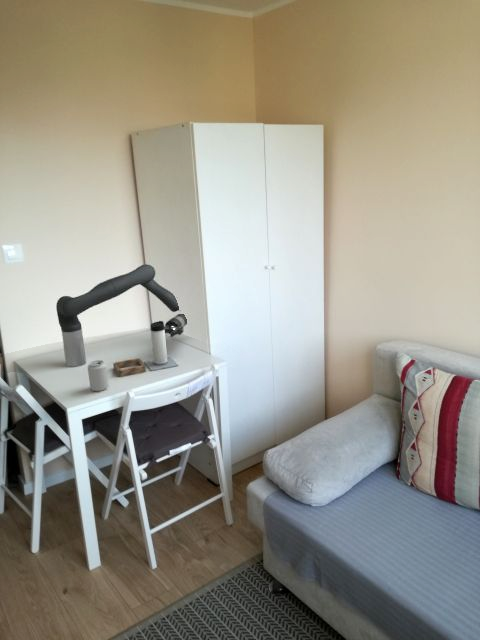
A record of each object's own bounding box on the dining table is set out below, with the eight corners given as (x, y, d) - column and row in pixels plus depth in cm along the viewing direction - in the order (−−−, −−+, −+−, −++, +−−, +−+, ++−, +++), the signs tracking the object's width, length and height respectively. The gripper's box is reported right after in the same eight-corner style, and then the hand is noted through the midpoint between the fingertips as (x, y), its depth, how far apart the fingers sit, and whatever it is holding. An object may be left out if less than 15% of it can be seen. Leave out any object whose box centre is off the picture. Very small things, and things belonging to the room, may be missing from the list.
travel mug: (170, 361, 243) (167, 321, 237) (161, 366, 237) (157, 325, 232) (160, 360, 246) (156, 320, 241) (151, 364, 241) (147, 323, 235)
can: (110, 390, 214) (106, 363, 211) (91, 393, 212) (87, 366, 209) (107, 384, 221) (104, 358, 218) (89, 387, 219) (86, 360, 215)
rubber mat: (151, 371, 233) (151, 370, 233) (144, 362, 245) (144, 361, 245) (178, 366, 238) (178, 365, 238) (170, 357, 250) (170, 356, 250)
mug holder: (118, 377, 228) (118, 371, 227) (113, 368, 239) (112, 362, 238) (146, 372, 233) (145, 365, 232) (139, 363, 244) (139, 357, 243)
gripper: (161, 317, 258) (148, 327, 243) (187, 318, 255) (176, 327, 239) (162, 331, 260) (149, 342, 245) (188, 332, 257) (177, 343, 242)
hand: (162, 335), depth 242 cm, fingers open, 8 cm apart
